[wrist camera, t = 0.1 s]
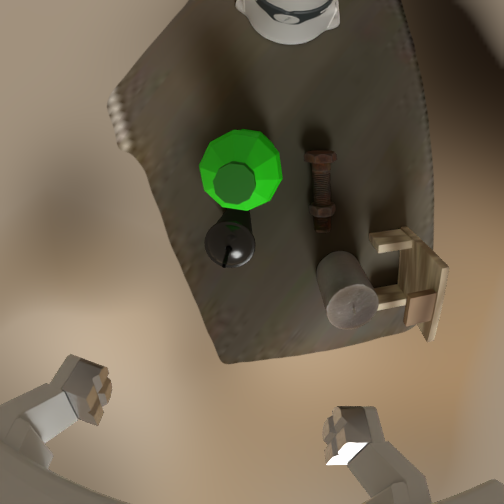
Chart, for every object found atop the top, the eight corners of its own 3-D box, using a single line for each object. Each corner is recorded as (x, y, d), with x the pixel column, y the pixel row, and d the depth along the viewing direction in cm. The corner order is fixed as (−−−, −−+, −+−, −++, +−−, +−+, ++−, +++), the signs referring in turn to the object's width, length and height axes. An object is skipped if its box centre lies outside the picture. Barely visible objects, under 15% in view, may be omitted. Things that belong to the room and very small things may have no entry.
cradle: (368, 296, 63) (393, 350, 47) (368, 231, 57) (403, 275, 40) (402, 290, 62) (433, 340, 46) (406, 226, 56) (449, 267, 39)
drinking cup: (266, 214, 56) (265, 263, 38) (240, 241, 59) (229, 299, 41) (234, 188, 54) (218, 226, 36) (210, 218, 57) (184, 267, 39)
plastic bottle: (286, 142, 50) (304, 161, 28) (259, 191, 54) (254, 248, 32) (236, 117, 48) (211, 115, 26) (211, 168, 53) (170, 207, 30)
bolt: (315, 223, 59) (312, 149, 52) (339, 227, 56) (338, 150, 49) (304, 234, 54) (300, 154, 48) (330, 239, 52) (328, 155, 45)
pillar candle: (357, 288, 62) (377, 331, 49) (314, 292, 63) (325, 337, 50) (361, 248, 58) (385, 286, 45) (315, 251, 59) (329, 291, 46)
